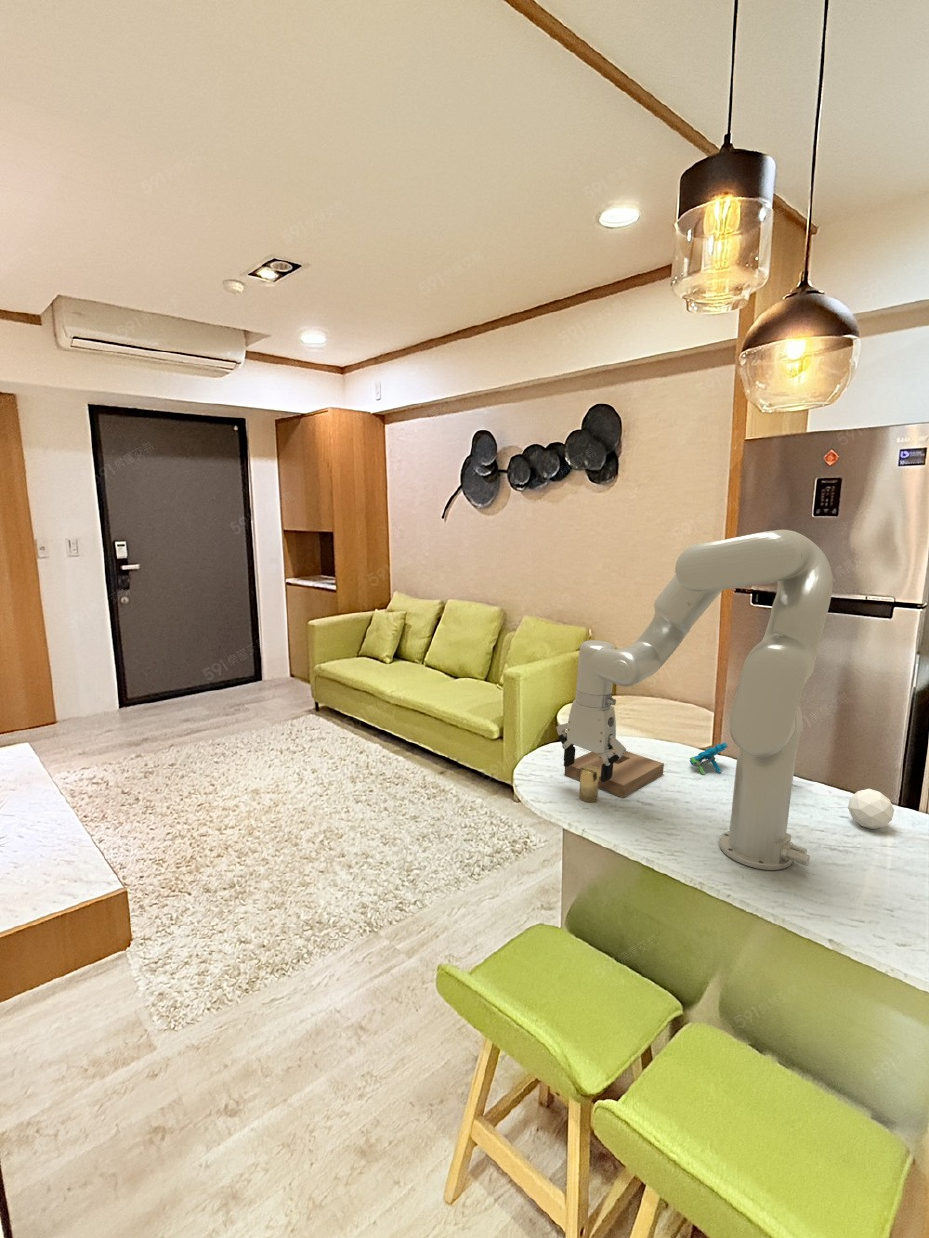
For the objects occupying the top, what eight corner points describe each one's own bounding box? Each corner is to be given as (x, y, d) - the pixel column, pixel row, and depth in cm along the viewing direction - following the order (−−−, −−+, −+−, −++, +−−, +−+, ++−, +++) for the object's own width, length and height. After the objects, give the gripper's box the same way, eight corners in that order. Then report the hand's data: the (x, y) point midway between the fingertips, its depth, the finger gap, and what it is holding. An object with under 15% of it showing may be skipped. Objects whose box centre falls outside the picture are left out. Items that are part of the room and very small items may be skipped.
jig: (663, 775, 151) (663, 763, 151) (622, 797, 139) (623, 785, 138) (606, 755, 162) (606, 744, 162) (564, 775, 150) (564, 763, 149)
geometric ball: (877, 842, 127) (896, 825, 121) (836, 819, 131) (853, 802, 125) (886, 814, 131) (906, 797, 125) (847, 793, 135) (864, 775, 129)
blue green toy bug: (710, 752, 162) (732, 736, 154) (723, 773, 159) (746, 758, 151) (677, 764, 157) (698, 748, 149) (690, 786, 155) (711, 771, 147)
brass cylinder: (601, 799, 138) (603, 769, 137) (590, 804, 135) (592, 774, 134) (586, 792, 141) (587, 763, 140) (575, 798, 138) (577, 768, 137)
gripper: (638, 705, 131) (630, 781, 134) (570, 685, 143) (565, 755, 146) (618, 712, 125) (611, 791, 129) (550, 691, 137) (545, 764, 141)
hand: (586, 772), depth 137 cm, fingers open, 9 cm apart
